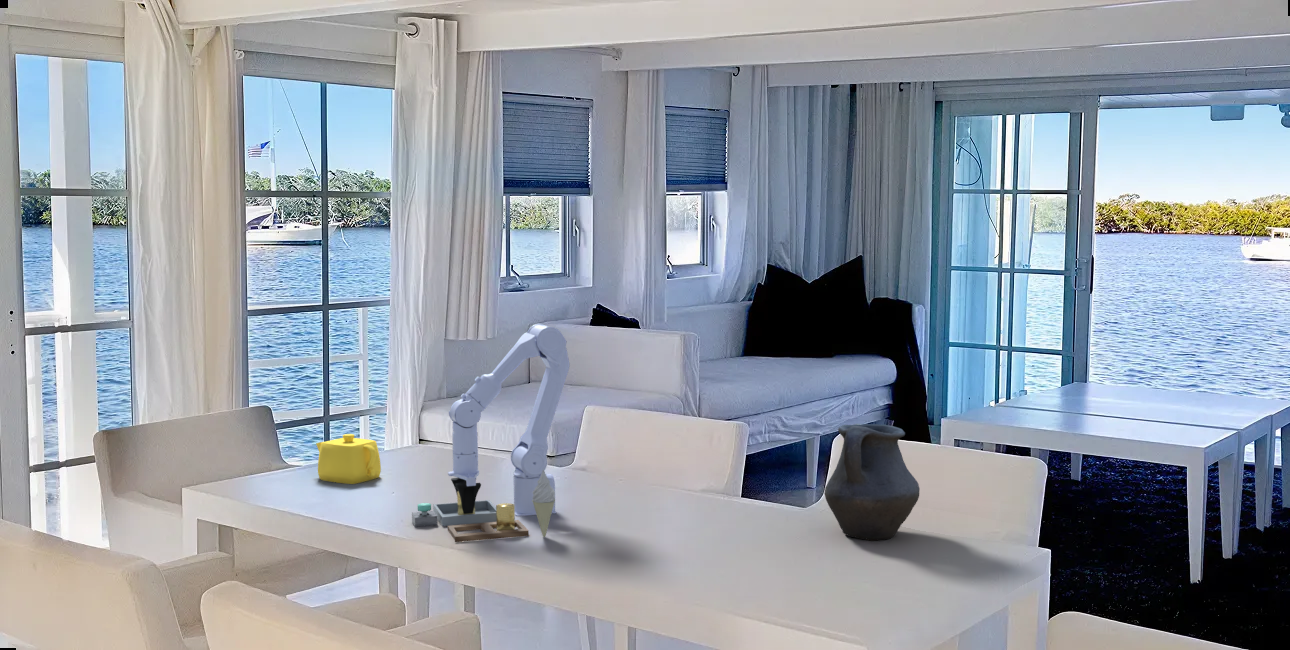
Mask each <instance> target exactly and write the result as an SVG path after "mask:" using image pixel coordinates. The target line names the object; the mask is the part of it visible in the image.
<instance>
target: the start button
mask: <svg viewBox="0 0 1290 650" xmlns="http://www.w3.org/2000/svg"><path fill="white" fill-rule="evenodd" d="M417 511H418V512H422V516H423V515H427V511H432V504H431V503H428V502H427V503H426V502H423V503H418V504H417Z"/></svg>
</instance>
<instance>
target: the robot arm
mask: <svg viewBox="0 0 1290 650" xmlns="http://www.w3.org/2000/svg"><path fill="white" fill-rule="evenodd" d="M535 357H539V358H540V359H541V361H542V363H543V364H544V366H545V370H544V373H543V375H542V376H543V377H542V379H541V382H540V385H539V388H538V392H537V395H536V398H535V401H534V405H533V408H532V411H531V414H530V417H529V420H528V423H527V426H526V430H525V432H524V433H523V434H522V435H521V436H520V438H519V441H518V443H517V444H516V446H515V447H514V448H513V449H512V451H511V453H510V461H511V464H512V465H513V466H514V468H515V470H514V471H513V477H512V478H513V504H514V505H515V517H525V516H534V515H535V516H537V514H536V511H535V507H534V504H533V502H532V500H533V499H532V497H533V493H532V492H533V491H534V490H535V488H536V487H537V485H538V480H539V479H540V476H541V474H542V471H543V469H544V471H545V470H546V469H547V467H548V458H547V454H548V450H549V444H548V436H549V433H550V429H551V427H552V424H553V421H554V416H555V414H556V411H557V407H558V404H559V402H560V398H561V395H562V393H563V390H564V385H565V382H566V380H567V376H568V373H569V370H570V366H571V365H570V364H571V363H570V359H569V354H568V349H567V339H566V338H565V336H564V334H563V333H562V332H561V330H559V329H558V328H556V327H555V326H548V325H546V324H543V323H536V324H535V323H534V324H533V325H532V326H530V327H529V328H528V330H527V332H525V333H522V335H521V336H520V337H519V338H518V340H517V342H516V343H515V344H514V346H512V347H511V349H510V350H509V351H508V352H507V353H506V355H505V356H504V357H503V358H502V360H501V361H500V362H499V363H498V364H497V365H496V367H495V368H494V369H493V371H491V373H485V374H481V375H480V376H476V377H475V379H474V382H475V383H473V385H471V386H470V387H469V389H468V390H467V391H466V392H465V393H462V394H461V395H460V398H461V399H458V400H456V401H454V402H453V403H452V405H451V406H450V409H449V411H448V416H449V418H450V420H451V421H452V432H451V434H452V435H451V437H452V471H447V475H448V477H452V478H451V479H450V480H451V483H452V485H453V487H454V489H455V493H456V494H457V491H459V494H460V498H461V504H462V510H463V513H464V514H468V513H473V511H474V506H475V501H477V500H476V499H477V496H478V493H479V490H480V489H481V488H482V487H481V486H482V483H481V482H477V478H478V477H479V475H480V470H479V445H478V444H479V443H478V440H479V439H478V437H479V436H478V423H479V422H480V420H481V418H482V417H481V415H482V412H484V411H485V410H486V408H488V407H489V406H490V404H492V402H493V401H494V399H496V398H497V397H498V396H499V395H500V393H502V384H503V382H504V381H505V380H506V379H507V378H508V377H509V376H510V375H511V374H512V373H513V372H514V371H515V370H516V369H517V368H518V367H519V366H520V365H521V364H522V363H523V362H525V360H527V359H531V358H535ZM545 472H546V471H545ZM545 474H546V476H547V478H548V480H549V481H550V483H549V484H550V486H551V487H552V488H553V489H554V491H555V492H556V485H555V484H556V483H555V478H554V475H553V474H552V473H545ZM551 514H557V511H556V501H555V502H554V505H553V509H552V513H551Z"/></svg>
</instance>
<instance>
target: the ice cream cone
mask: <svg viewBox="0 0 1290 650" xmlns="http://www.w3.org/2000/svg"><path fill="white" fill-rule="evenodd" d="M546 474H547V473H546V471H544V469H543V471H542V474H541V476H540V479H539V480H538V485H537V487H536V488H535V490H534V491H533V492H532V493H533V497H532V499H533V500H532V502H533V504H534V507H535V511H536V514H537V515H536V518H537V521H538V525H539V528H540V531H541V533H542V538H546V537H547V531H548V528H549V523H550V520H551V518H552V514H553V513H552V509H553V505H554V502H555V503H556V490H555V491H554V489H553V488H552V487H551V486H550V484H549V483H550V481H549V480H548V478H547V476H546Z"/></svg>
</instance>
